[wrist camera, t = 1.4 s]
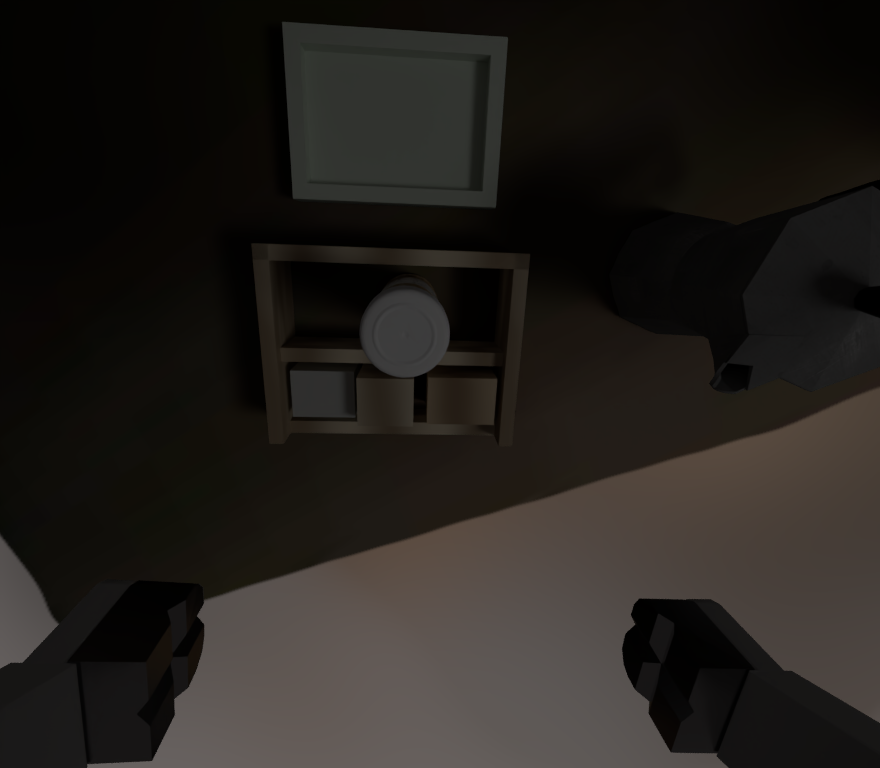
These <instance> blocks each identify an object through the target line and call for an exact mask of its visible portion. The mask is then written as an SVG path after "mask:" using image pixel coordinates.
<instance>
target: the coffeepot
mask: <svg viewBox="0 0 880 768" xmlns="http://www.w3.org/2000/svg"><path fill="white" fill-rule="evenodd" d="M609 277H610V282H611V287H612V294H613V297H614V300H615V303H616V305H617V308H618V312H619V316H620V317H622V318H624V319H626V320H628V321H630V322H632V323H634V324H636V325H639V326H641V327H643V328H645V329H647V330H649V331H652V332H654V333H656V334H672V335H690V336H704V337H706V338H708V339H709V343H710V347H711V351H712V355H713V359H714V369H715V375H714V377H713V379H712V380H711V382H710V383H709V384H710V385H711V386H712V388H713V389H715V390H717V391H719V392H723V393H730V394H736V393H738V392H741V391H743V390H745V389H746V390H750V389H752V388H755V387H757V386H760V385H762V384H765V383H767V382H770V381H772V380H775V379H777V378H781V379H783V380H785V381H787V382H789V383H791V384H793V385H796V386H798V387H800V388H803V389H805V390H807V391H810V392H812V391H815V390H817V389H820V388H823V387H826V386H828V385H831V384H834V383H837V382H839V381H842V380H845V379H848V378H850V377H853V376H856V375H859V374H861V373H864V372H867V371H870V370H872V369H875V368H878V367H880V180H877V181H873V182H870V183H867V184H864V185H861V186H858V187H855V188H852V189H850V190H847V191H844V192H841V193H837V194H834V195H830V196H827V197H824V198H822V199H820V200H819V201H817V202H814V203H810V204H806V205H803V206H799V207H795V208H792V209H788V210H785V211H781V212H777V213H774V214H770V215H766V216H763V217H759V218H756V219H753V220H750V221H747V222H744V223H742V224H739V225H734V224H731V223H729V222H725V221H719V220H714V219H709V218H704V217H699V216H693V215H688V214H683V213H678V212H677V213H675V214H672V215H670V216H667V217H665V218H662V219H659V220H656V221H654V222H651V223H649V224H647V225H645V226H642V227H640V228H637V229H635V230H632V232H631V234H630V235H629V237H628V239H627V241H626V242H625V244H624V245H623V247H622V249H621V250H620V252H619V253H618V256H617V258H616V260H615V263H614V266H613V268H612V270H611V272H610V273H609Z"/></svg>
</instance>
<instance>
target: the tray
mask: <svg viewBox="0 0 880 768" xmlns="http://www.w3.org/2000/svg"><path fill="white" fill-rule="evenodd" d="M282 29H283V45H284V61H285V77H286V93H287V109H288V126H289V142H290V158H291V174H292V190H293V199H295V200H298V201H302V202H325V203H348V204H370V205H393V206H416V207H439V208H461V209H484V210H492V209H494V208H496V198H497V184H498V170H499V156H500V142H501V128H502V113H503V99H504V85H505V71H506V57H507V43H508V37H496V36H481V35H467V34H452V33H437V32H423V31H408V30H393V29H379V28H364V27H349V26H335V25H320V24H305V23H291V22H282Z"/></svg>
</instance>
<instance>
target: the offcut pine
mask: <svg viewBox="0 0 880 768" xmlns="http://www.w3.org/2000/svg"><path fill="white" fill-rule="evenodd" d="M356 382H357V425H358V426H405V427H413V409H414V377H407V378H401V377H395V376H392V375H389V374H386V373H384V372H382V371H380V370H379V369H378V368H376V367H375V366H374V365H373V364H372V363H363V365H362V367H361V369H360V372H359V374H358V376H357V378H356Z"/></svg>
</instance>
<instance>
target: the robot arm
mask: <svg viewBox="0 0 880 768" xmlns="http://www.w3.org/2000/svg"><path fill="white" fill-rule="evenodd" d="M203 604H204V596H203V587H202V586H201V585H200V584H193V583H175V582H158V581H140V580H139V581H130V580H112V579H107V580H105V581H102V582H100V583H98V584H97V585H96V586H95V587H94V588H93V589H92V590H91V591H90V592H89V593H88V594H87V595H86V596H85V597H84V598H83V599H82V601H81V602H80V603H79V604H78V605H77V606H76V607H75V608H74V609H73V610H72V611H71V612H70V613H69V614H68V615H67V616H66V617H65V619H64V620H63V621H62V622H61V623H60V624H59V625H58V626H57V627H56V628H55V629H54V630H53V631H52V632H51V633H50V634H49V635H48V637H47V638H46V639H45V640H44V641H43V642H42V643H41V644H40V645H39V646H38V647H37V648H36V649H35V650H34V651H33V653H31V655H30V656H29V657H28V658H27V659H26V660H25V661H24V662H23V663H10V664H8V665H6V666H4V667H2V668H1V669H0V768H87V764H95V763H96V764H98V763H116V762H117V763H119V762H140V761H152V760H153V758H154V756H155V754H156V752H157V750H158V748H159V745H160V744H161V742H162V739H163V737H164V736H165V733H166V732H167V730H168V727H169V725H170V724H171V721H172V719H173V717H174V715H175V710H174V699H175V698H176V697H177V696H178V695H180V694H181V693H182V692H183V691H185V690H186V689H187V688H188V687H189V685H190V683H191V680H192V678H193V676H194V674H195V672H196V669H197V666H198V663H199V660H200V657H201V653H202V649H203V641H204V624H203V623H202V622H201V620H200V619H199V618H198V617H197V615H198V613H199V611H200V609H201V608H202V606H203ZM631 616H632V618H633V620H634V623H635V625H634V626H633V627H632V628H631V629H630V630H629V631H628V632H627V633H626V634H625V638H624V643H623V647H622V652H623V662H624V666H625V669H626V672H627V675H628V678H629V679H630V681H631V683H632V685H633V687H634V688H635V690H636V691H637V692H639V693H640V694H641V695H642V696H644V697H645V698H646V699H647V700H648V701H649V715H650V717H651V718H652V720H653V722H654V724H655V726H656V727H657V729H658V731H659V733H660V734H661V736H662V738H663V740H664V741H665V743H666V745H667V747H668V748H669V750H670V752H675V753H718V754H717V757H718V758H719V759H720V760H721V761H722V762H723V763H724V764H725V765H727V766H728V767H729V768H880V723H879V722H877V721H875V720H873V719H872V718H870V717H869V716H867V715H865V714H864V713H862V712H860V711H858V710H857V709H855V708H853V707H852V706H850V705H848V704H847V703H845V702H843V701H842V700H840V699H838V698H836V697H835V696H833V695H831V694H830V693H828V692H826V691H825V690H823V689H821V688H820V687H818V686H816V685H814V684H813V683H811V682H809V681H808V680H806V679H804V678H803V677H801V676H799V675H798V674H796V673H794V672H793V671H784V670H783V669H782V668H781V667H780V666H779V665H778V664H777V663H776V662H775V661H774V660H773V659H772V658H771V657H770V656H769V655H768V654H767V653H766V652H765V651H764V650H763V649H762V648H761V646H760V645H759V644H758V643H757V642H756V641H755V640H754V639H753V638H752V637H751V636H750V635H749V634H748V633H747V632H746V631H745V630H744V629H743V628H742V627H741V626H740V625H739V624H738V623H737V622H736V621H735V620H734V618H733V617H732V616H731V615H730V614H729V613H728V612H727V611H726V610H725V609H724V608H723V607H722V606H721V605H720V604H718V603H716V602H714V601H713V600H711V599H687V600H678V599H639V600H638V601H637V602H636V603H635V604H634V606H633V610H632V613H631Z"/></svg>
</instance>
